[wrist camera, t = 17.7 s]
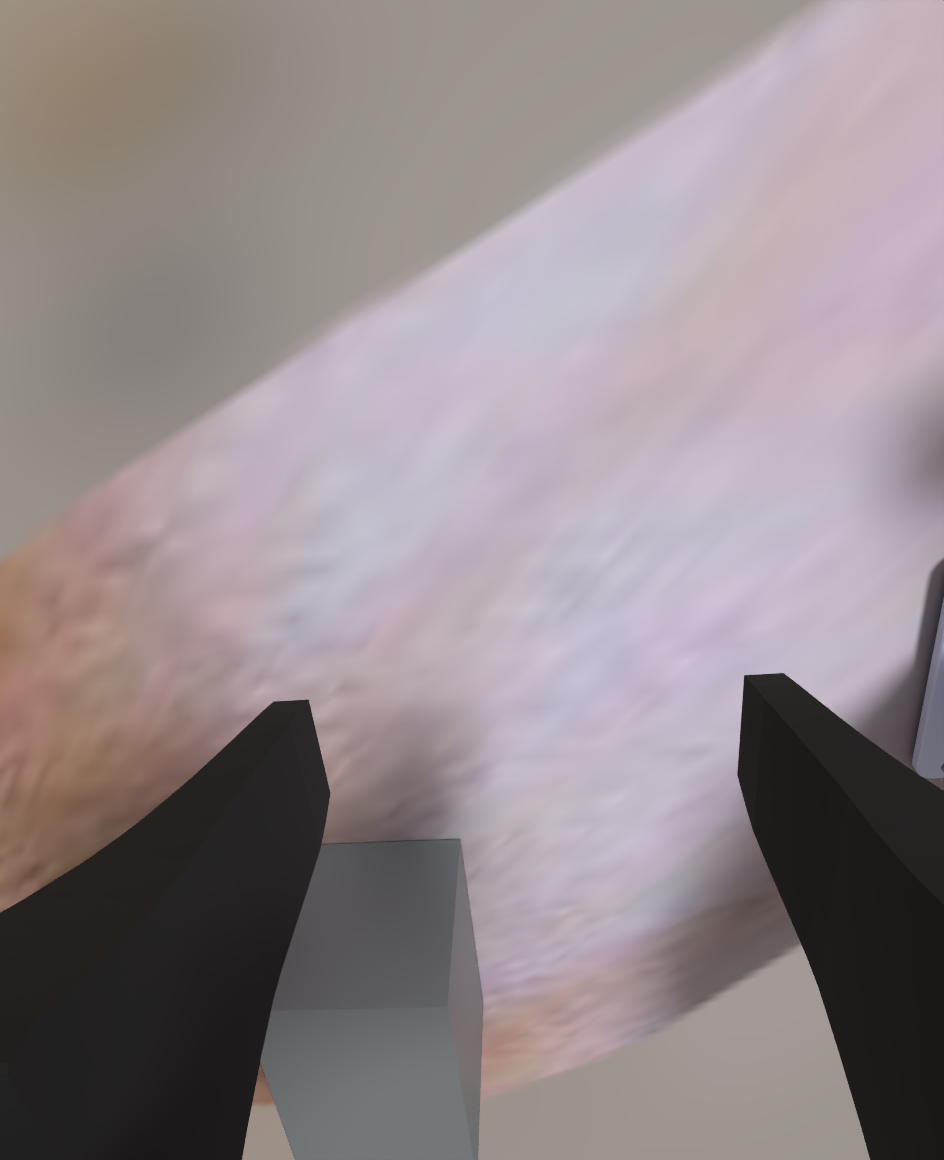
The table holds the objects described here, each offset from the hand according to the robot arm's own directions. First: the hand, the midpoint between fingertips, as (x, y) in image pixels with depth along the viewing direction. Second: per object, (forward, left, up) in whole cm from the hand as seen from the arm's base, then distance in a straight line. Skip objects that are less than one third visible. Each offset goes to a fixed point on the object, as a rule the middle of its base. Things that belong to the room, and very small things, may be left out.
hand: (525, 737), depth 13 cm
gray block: (+6, +17, -10) cm, 21 cm away
